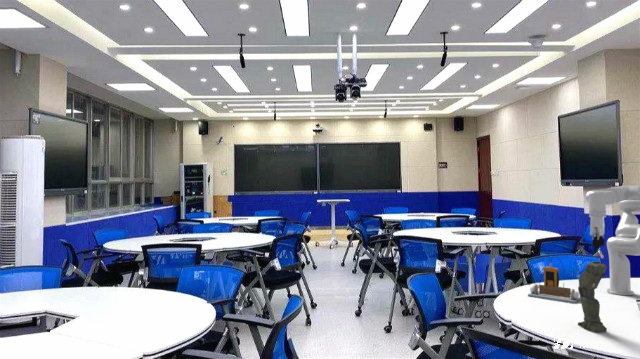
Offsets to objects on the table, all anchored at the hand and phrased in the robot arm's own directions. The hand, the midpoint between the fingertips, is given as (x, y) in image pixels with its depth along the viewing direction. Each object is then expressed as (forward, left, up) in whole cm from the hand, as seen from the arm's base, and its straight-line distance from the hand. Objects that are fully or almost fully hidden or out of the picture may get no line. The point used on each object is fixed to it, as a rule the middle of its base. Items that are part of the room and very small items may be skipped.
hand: (598, 246), depth 226 cm
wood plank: (+12, -19, -27) cm, 35 cm away
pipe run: (+12, -19, -28) cm, 36 cm away
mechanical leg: (+58, +9, -28) cm, 65 cm away
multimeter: (-10, -25, -28) cm, 39 cm away
